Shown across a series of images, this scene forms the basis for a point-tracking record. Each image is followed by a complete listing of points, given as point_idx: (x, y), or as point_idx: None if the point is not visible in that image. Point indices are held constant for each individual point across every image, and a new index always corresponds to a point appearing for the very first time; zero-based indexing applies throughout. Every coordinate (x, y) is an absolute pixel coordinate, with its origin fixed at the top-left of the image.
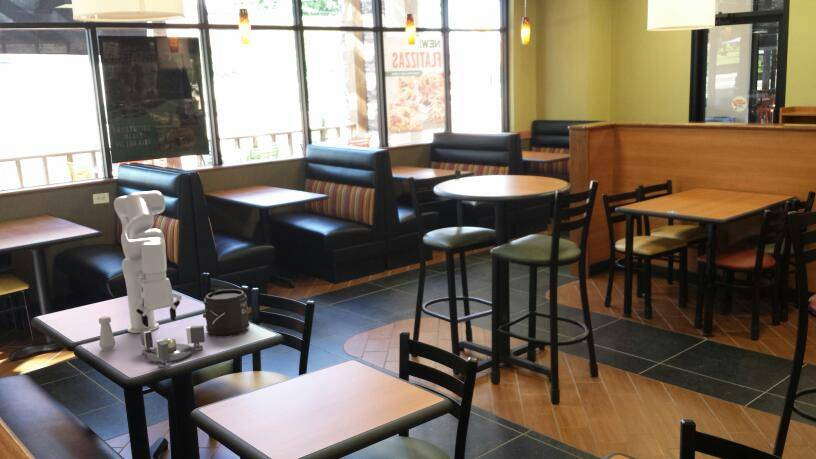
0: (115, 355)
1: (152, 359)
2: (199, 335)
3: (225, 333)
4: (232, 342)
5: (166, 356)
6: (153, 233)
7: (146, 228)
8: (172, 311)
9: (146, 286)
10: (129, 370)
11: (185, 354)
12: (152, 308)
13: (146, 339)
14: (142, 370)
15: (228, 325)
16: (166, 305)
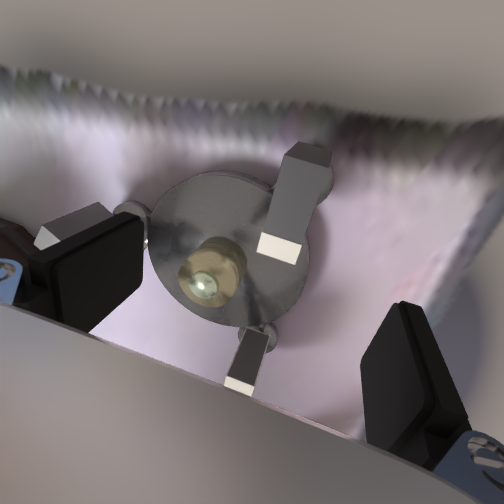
0: (326, 399)
1: (307, 255)
2: (87, 223)
3: (20, 236)
4: (25, 170)
5: (310, 147)
6: None
7: None
8: (65, 264)
9: None
10: (414, 263)
11: (199, 176)
12: (400, 494)
13: (258, 361)
14: (390, 216)
15: None
16: (19, 340)
